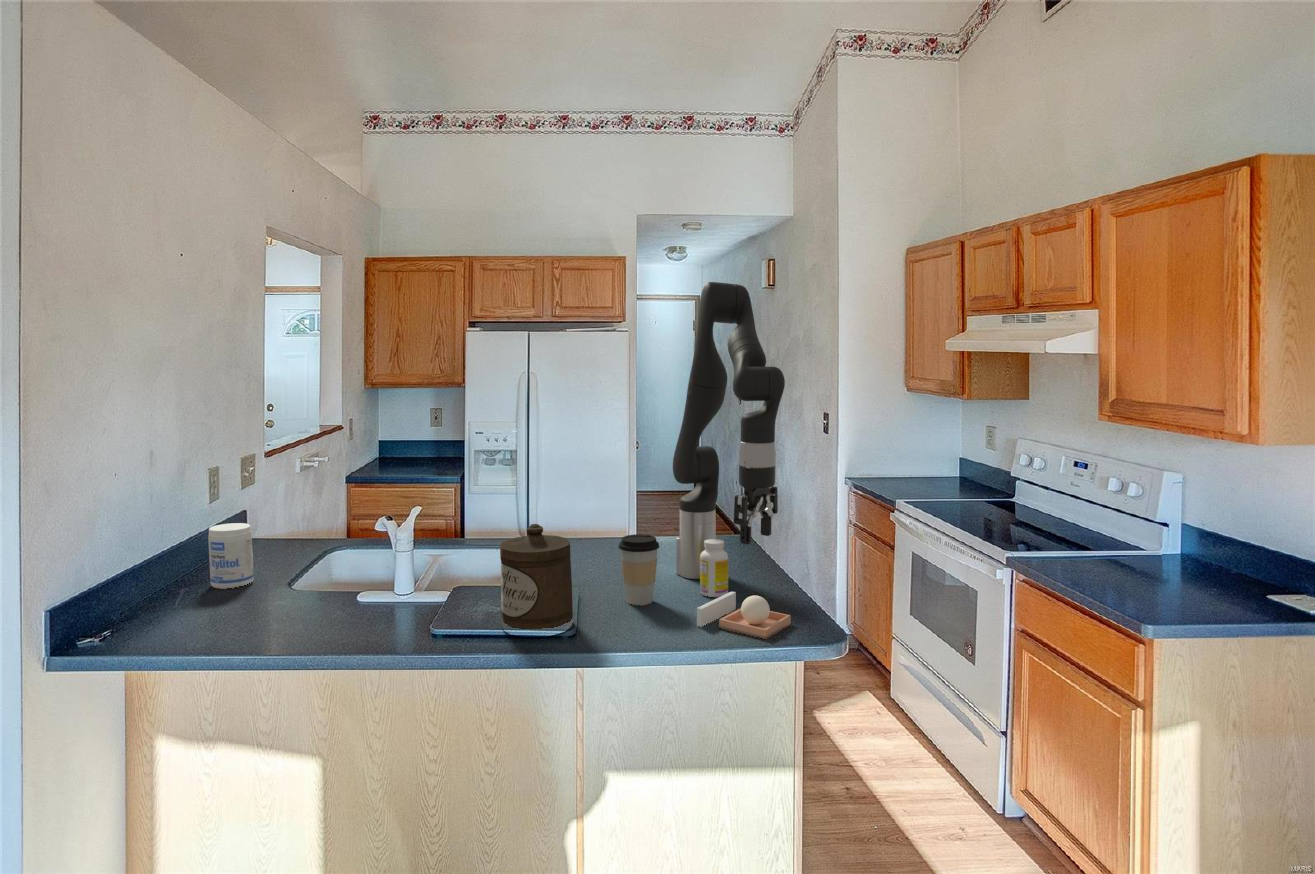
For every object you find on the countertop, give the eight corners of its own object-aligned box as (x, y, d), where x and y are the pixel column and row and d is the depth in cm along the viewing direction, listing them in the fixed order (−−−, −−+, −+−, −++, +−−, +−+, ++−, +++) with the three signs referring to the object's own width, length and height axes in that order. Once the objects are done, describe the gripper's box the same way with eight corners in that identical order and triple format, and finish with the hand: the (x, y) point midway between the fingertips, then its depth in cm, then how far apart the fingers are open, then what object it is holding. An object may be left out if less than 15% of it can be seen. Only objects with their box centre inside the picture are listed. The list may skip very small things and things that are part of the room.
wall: (696, 626, 172) (696, 608, 171) (731, 608, 183) (731, 591, 182) (701, 627, 171) (701, 609, 170) (735, 609, 182) (735, 592, 182)
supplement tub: (208, 592, 197) (204, 532, 195) (213, 581, 205) (209, 524, 204) (253, 587, 200) (249, 528, 199) (255, 577, 209) (252, 521, 207)
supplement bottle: (731, 591, 196) (731, 539, 194) (724, 599, 189) (724, 545, 188) (704, 588, 198) (704, 536, 196) (696, 596, 192) (696, 543, 190)
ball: (735, 625, 171) (735, 597, 170) (749, 616, 175) (750, 590, 175) (760, 630, 167) (761, 602, 166) (774, 622, 172) (774, 595, 171)
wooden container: (490, 624, 173) (487, 523, 171) (550, 610, 182) (548, 514, 180) (523, 644, 162) (520, 536, 159) (586, 628, 171) (584, 526, 168)
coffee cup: (666, 598, 190) (666, 535, 189) (648, 610, 182) (648, 545, 180) (630, 593, 194) (629, 531, 192) (611, 604, 186) (610, 540, 184)
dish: (719, 628, 170) (719, 619, 170) (745, 614, 179) (745, 605, 179) (765, 639, 164) (765, 630, 163) (790, 624, 172) (790, 615, 172)
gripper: (758, 457, 176) (757, 530, 178) (723, 465, 165) (722, 543, 167) (789, 460, 172) (787, 535, 174) (755, 469, 160) (754, 549, 162)
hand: (755, 539), depth 170 cm, fingers open, 8 cm apart
